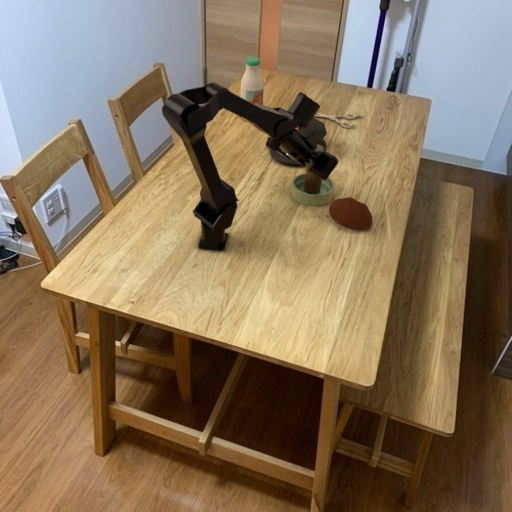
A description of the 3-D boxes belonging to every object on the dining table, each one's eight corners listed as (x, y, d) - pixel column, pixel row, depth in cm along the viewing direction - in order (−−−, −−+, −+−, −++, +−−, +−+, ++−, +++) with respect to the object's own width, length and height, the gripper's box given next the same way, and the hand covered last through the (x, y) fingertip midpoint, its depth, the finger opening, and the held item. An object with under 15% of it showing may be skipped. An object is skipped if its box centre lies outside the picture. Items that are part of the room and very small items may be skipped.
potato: (369, 238, 133) (374, 212, 127) (323, 229, 135) (327, 203, 130) (372, 220, 138) (378, 195, 133) (329, 212, 140) (332, 187, 135)
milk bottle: (237, 119, 181) (237, 61, 168) (244, 110, 186) (245, 53, 173) (258, 123, 179) (260, 64, 166) (265, 113, 185) (267, 56, 172)
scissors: (355, 127, 177) (298, 116, 181) (355, 129, 177) (297, 118, 182) (361, 114, 185) (306, 104, 189) (361, 116, 185) (306, 106, 190)
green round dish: (332, 209, 142) (334, 197, 139) (289, 205, 142) (290, 193, 140) (332, 186, 150) (334, 174, 148) (292, 182, 151) (293, 170, 149)
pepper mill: (320, 195, 143) (326, 152, 135) (303, 193, 143) (308, 151, 135) (320, 186, 147) (326, 144, 138) (304, 184, 147) (309, 142, 139)
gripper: (338, 128, 123) (362, 156, 135) (285, 100, 133) (311, 128, 146) (310, 168, 124) (337, 192, 136) (259, 137, 134) (288, 162, 147)
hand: (318, 167), depth 141 cm, fingers closed on pepper mill, 4 cm apart
